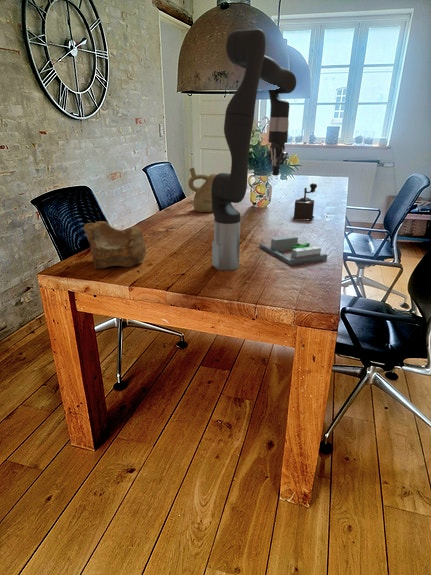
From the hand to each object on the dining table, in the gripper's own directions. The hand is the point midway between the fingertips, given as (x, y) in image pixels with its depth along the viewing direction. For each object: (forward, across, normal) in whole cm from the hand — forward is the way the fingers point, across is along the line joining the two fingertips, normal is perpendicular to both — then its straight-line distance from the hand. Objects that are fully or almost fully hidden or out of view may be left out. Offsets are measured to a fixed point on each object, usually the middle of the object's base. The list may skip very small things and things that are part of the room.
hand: (275, 175), depth 157 cm
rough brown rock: (+29, +2, -70) cm, 76 cm away
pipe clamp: (+29, +20, +1) cm, 36 cm away
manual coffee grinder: (+29, -36, +43) cm, 63 cm away
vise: (+29, +17, 0) cm, 34 cm away
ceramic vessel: (+29, -72, -3) cm, 78 cm away
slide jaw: (+29, +11, 0) cm, 31 cm away
